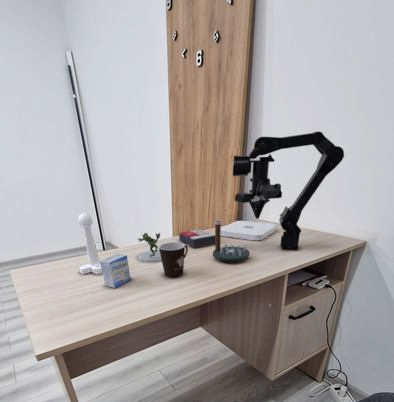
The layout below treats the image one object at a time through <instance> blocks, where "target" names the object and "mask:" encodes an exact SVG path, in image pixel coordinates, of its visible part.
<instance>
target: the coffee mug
mask: <svg viewBox="0 0 394 402" xmlns="http://www.w3.org/2000/svg"><path fill="white" fill-rule="evenodd" d="M158 250H160V255H161V260H162V261H161V263H162V268H163V272H164V273H163V274H164V276H165V277H166V278H168V279H177V278H181V277H183V275H184V266H185V258H186V256H187V255H188V250H189V248H188V245H186V244H185V243H183V242H176V241H171V242H164V243H161V244H160V245H159V246H158Z"/></svg>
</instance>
